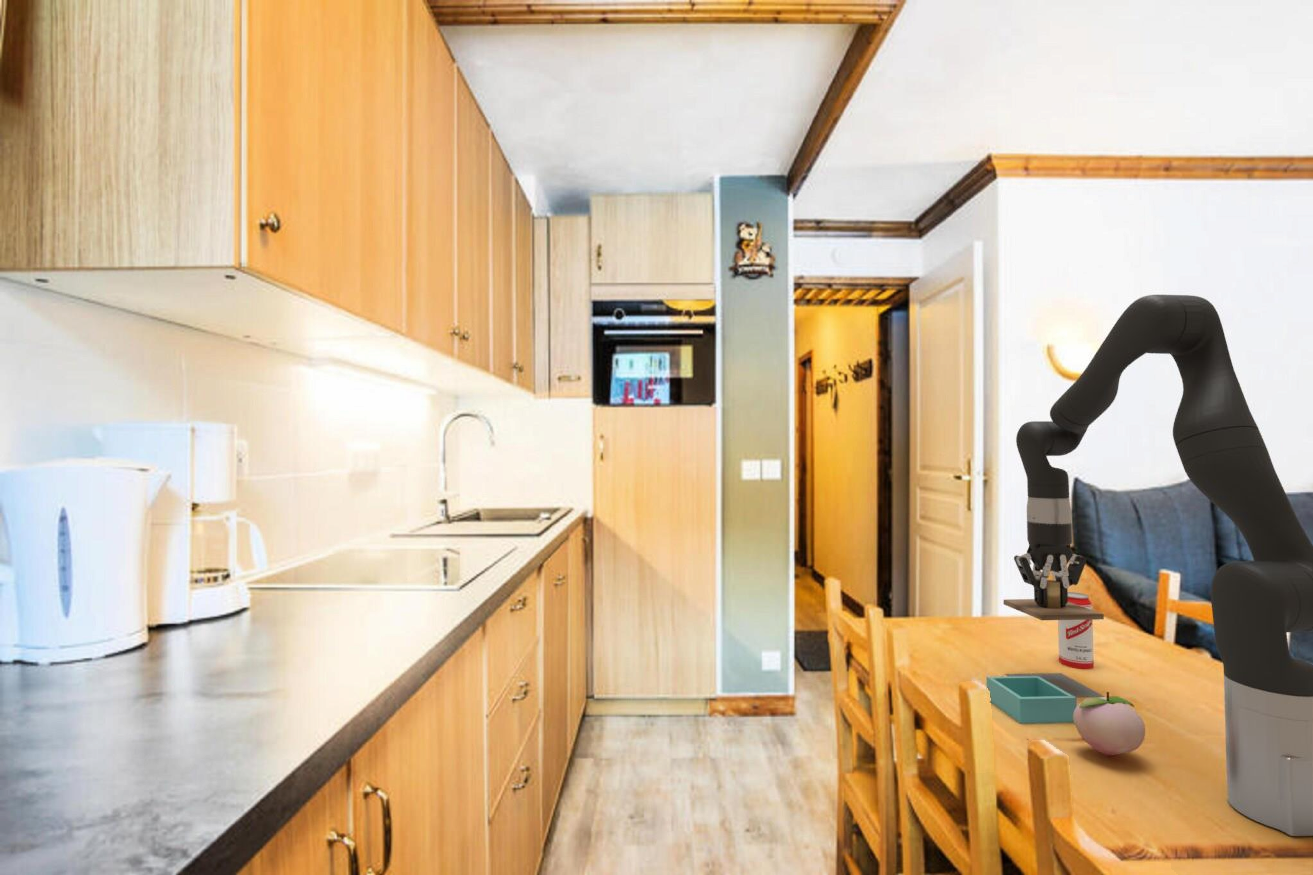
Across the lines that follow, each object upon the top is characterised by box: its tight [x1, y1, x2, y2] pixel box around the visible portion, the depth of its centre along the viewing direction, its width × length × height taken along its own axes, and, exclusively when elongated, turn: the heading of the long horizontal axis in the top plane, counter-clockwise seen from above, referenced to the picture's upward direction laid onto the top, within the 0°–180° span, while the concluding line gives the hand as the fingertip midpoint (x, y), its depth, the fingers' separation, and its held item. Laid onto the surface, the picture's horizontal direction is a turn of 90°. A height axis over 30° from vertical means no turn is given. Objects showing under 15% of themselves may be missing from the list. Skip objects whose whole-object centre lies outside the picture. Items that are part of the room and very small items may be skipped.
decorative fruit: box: [1073, 691, 1146, 757], centre depth 93 cm, size 9×8×10 cm
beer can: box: [1057, 591, 1095, 670], centre depth 130 cm, size 6×6×16 cm
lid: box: [1003, 579, 1105, 621], centre depth 119 cm, size 12×12×6 cm
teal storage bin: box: [986, 675, 1078, 725], centre depth 108 cm, size 10×10×5 cm
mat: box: [1005, 672, 1106, 699], centre depth 119 cm, size 12×12×1 cm
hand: (1051, 605), depth 119 cm, fingers closed on lid, 3 cm apart
